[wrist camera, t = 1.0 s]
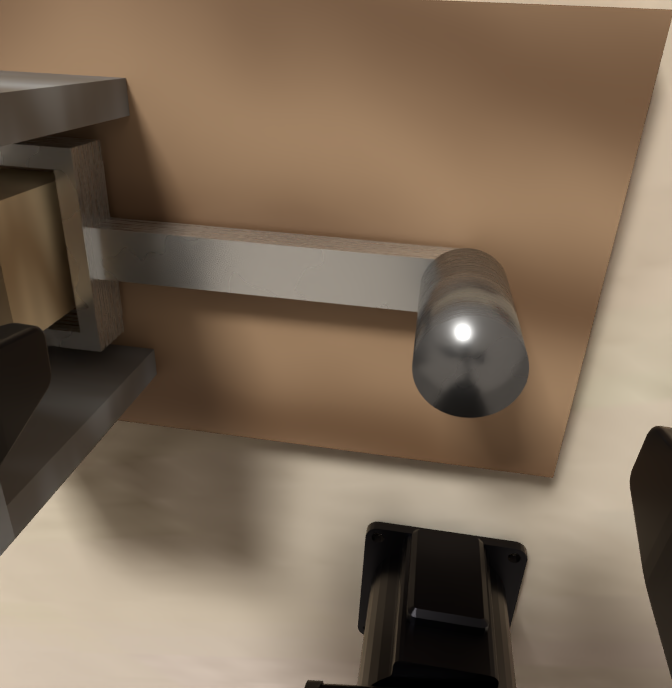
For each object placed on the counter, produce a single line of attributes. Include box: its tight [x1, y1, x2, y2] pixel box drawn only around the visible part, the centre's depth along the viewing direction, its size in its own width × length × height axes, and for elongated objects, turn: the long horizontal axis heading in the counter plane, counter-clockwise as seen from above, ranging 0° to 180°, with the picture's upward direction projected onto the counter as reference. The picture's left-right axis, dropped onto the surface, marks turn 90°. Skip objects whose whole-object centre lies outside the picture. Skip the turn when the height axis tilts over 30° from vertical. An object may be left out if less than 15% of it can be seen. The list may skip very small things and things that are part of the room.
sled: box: [0, 136, 529, 418], centre depth 16 cm, size 6×18×6 cm, turn 87°
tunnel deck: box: [0, 0, 672, 556], centre depth 16 cm, size 14×32×11 cm, turn 87°
